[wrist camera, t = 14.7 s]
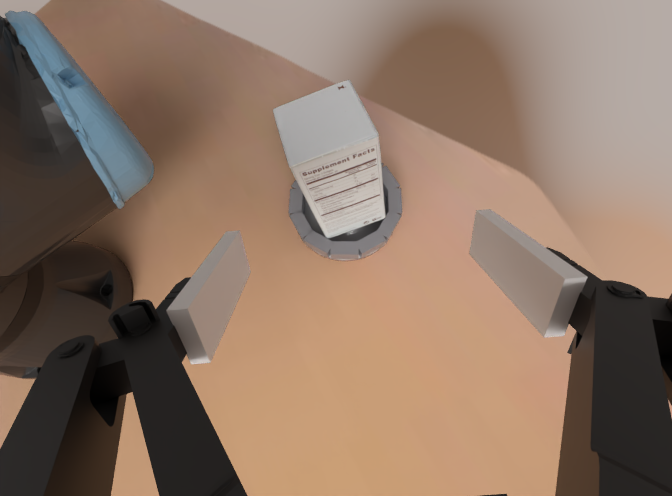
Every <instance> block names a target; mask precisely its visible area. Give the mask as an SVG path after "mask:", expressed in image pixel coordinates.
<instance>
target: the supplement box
mask: <svg viewBox="0 0 672 496" xmlns="http://www.w3.org/2000/svg"><path fill="white" fill-rule="evenodd" d="M273 113H274V117H275V121H276V124H277V128H278V131H279V135H280V138H281V142H282V145H283V148H284V152H285V155H286V159H287V162H288V165H289V167H290V169H291V171H292V173H293V175H294V177H295V179H296V181H297V183H298V185H299V187H300V188H301V190H302V192H303V194H304V196H305V198H306V200H307V202H308V204H309V206H310V208H311V210H312V212H313V214H314V216H315V218H316V220H317V222H318V224H319V225H320V227H321V229H322V231H323V233H324V235H325V237H326V238H327V239H328V238H332V237H335V236H338V235H340V234H343V233H346V232H349V231H351V230H354V229H357V228H360V227H362V226H365V225H368V224H371V223H374V222H376V221H379V220H381V219H384V218H385V217H386V216H385V205H384V192H383V179H382V165H381V152H380V142H379V134H378V132H377V130H376V128H375V126H374V124H373V122H372V121H371V119H370V117H369V115H368V113H367V111H366V109H365V107H364V105H363V103H362V101H361V100H360V98H359V96H358V94H357V93H356V91H355V89H354V87H353V85H352V83H351V81H350V80H346V81H343V82H340V83H337V84H334V85H332V86H329V87H327V88H324V89H322V90H319V91H317V92H314V93H312V94H309V95H307V96H304V97H301V98H299V99H296V100H294V101H291V102H289V103H286V104H284V105H281V106H279V107H277V108H275V109H273Z"/></svg>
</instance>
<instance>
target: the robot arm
mask: <svg viewBox="0 0 672 496" xmlns="http://www.w3.org/2000/svg"><path fill="white" fill-rule="evenodd" d="M5 16H6V18H2V17H1V16H0V374H2V375H7V376H12V377H17V378H23V379H36V380H35V382H34V384H33V385H32V387H31V389H30V391H29V393H28V395H27V397H26V399H25V401H24V403H23V405H22V407H21V409H20V411H19V413H18V415H17V417H16V419H15V421H14V423H13V425H12V427H11V429H10V431H9V433H8V435H7V437H6V439H5V441H4V443H3V445H2V447H1V449H0V496H111V490H112V484H113V477H114V471H115V465H116V458H117V452H118V446H119V439H120V433H121V427H122V420H123V414H124V407H125V401H126V395H127V393H130V392H133V395H134V399H135V403H136V407H137V411H138V415H139V419H140V422H141V426H142V430H143V434H144V438H145V442H146V446H147V450H148V453H149V457H150V461H151V465H152V469H153V473H154V477H155V480H156V484H157V488H158V492H159V496H247V494H246V492H245V490H244V488H243V486H242V484H241V482H240V480H239V478H238V476H237V474H236V472H235V470H234V468H233V466H232V464H231V462H230V460H229V458H228V456H227V454H226V452H225V450H224V448H223V446H222V444H221V441H220V439H219V437H218V435H217V433H216V431H215V429H214V427H213V425H212V423H211V421H210V419H209V417H208V415H207V413H206V411H205V409H204V407H203V405H202V403H201V401H200V399H199V397H198V395H197V393H196V391H195V389H194V387H193V385H192V383H191V381H190V379H189V377H188V375H187V373H186V371H185V369H184V366H183V364H182V361H183V359H184V357H185V356H186V354H187V356H188V358H189V360H190V363H191V364H202V363H210V362H211V360H212V358H213V356H214V353H215V351H216V349H217V347H218V345H219V342H220V340H221V338H222V336H223V333H224V331H225V329H226V327H227V324H228V322H229V320H230V318H231V315H232V313H233V311H234V309H235V306H236V304H237V302H238V300H239V297H240V295H241V293H242V291H243V288H244V286H245V284H246V282H247V279H248V277H249V275H250V273H251V270H250V267H249V263H248V259H247V255H246V252H245V248H244V244H243V240H242V237H241V233H240V230H239V231H227V232H226V233H225V234H224V235H223V237H222V238H221V239H220V241H219V242H218V243H217V244H216V246H215V247H214V248H213V250H212V251H211V252H210V254H209V255H208V256H207V258H206V259H205V260H204V262H203V263H202V264H201V265H200V267H199V268H198V269H197V271H196V272H195V273H194V275H193V276H192V277H190V278H185V279H183V280H182V281H180V282H179V283H178V284H176V285H175V287H174V288H173V289H172V290H171V291H170V293H169V294H168V295H167V296H166V298H165V300H163V301H162V302H161V304H160V305H159V306H158V307H157V309H156V310H155V308H154V306H153V304H152V302H151V301H149V300H136V301H133V302H132V284H131V279H130V276H129V273H128V271H127V269H126V267H125V265H124V264H123V263H122V261H121V260H120V259H119V258H118V257H117V256H115V255H114V254H113V253H111V252H109V251H107V250H105V249H102V248H99V247H96V246H93V245H90V244H87V243H83V242H76V241H71V240H72V239H74V238H75V237H76V236H78V235H79V234H81V233H82V232H83V231H85V230H86V229H88V228H89V227H90V226H92V225H93V224H95V223H96V222H97V221H99V220H100V219H102V218H103V217H105V216H106V215H107V214H109V213H110V212H112V211H113V210H114V209H116V208H118V209H121V208H123V207H124V205H125V202H126V201H127V200H128V199H130V198H131V197H132V196H133V195H135V194H136V193H137V192H138V191H140V190H141V189H142V188H144V187H145V186H146V185H147V184H148V183H149V182H150V181H151V180H152V178H153V174H154V166H153V162H152V160H151V158H150V157H149V155H148V154H147V152H146V151H145V149H144V148H143V146H142V145H141V144H140V142H139V141H138V140H137V138H136V137H135V136H134V134H133V133H132V132H131V131H130V129H129V128H128V127H127V125H126V124H125V123H124V122H123V120H122V119H121V118H120V116H119V115H118V114H117V113H116V111H115V110H114V109H113V108H112V106H111V105H110V104H109V103H108V101H107V100H106V99H105V98H104V96H103V95H102V94H101V92H100V91H99V90H98V89H97V87H96V86H95V85H94V84H93V82H92V81H91V80H90V79H89V77H88V76H87V75H86V74H85V72H84V71H83V70H82V69H81V68H80V66H79V65H78V64H77V63H76V61H75V60H74V59H73V58H72V56H71V55H70V54H69V53H68V52H67V50H66V49H65V48H64V47H63V46H62V45H61V43H60V42H59V41H58V40H57V39H56V38H55V37H54V35H53V34H52V33H51V32H50V31H49V30H48V28H47V27H46V26H45V25H44V23H43V22H42V21H41V20H40V19H39V18H38V17H37V16H36V15H34V14H32V13H30V12H27V11H22V12H14V11H9V12H8V13H6V14H5ZM469 254H470V255H471V257H472V258H473V259H474V260H475V261H476V262H477V263H478V264H479V266H480V267H481V268H482V269H483V270H484V271H485V272H486V273H487V274H488V276H489V277H490V278H491V279H492V280H493V281H494V282H495V283H496V284H497V286H498V287H499V288H500V289H501V290H502V291H503V292H504V293H505V295H506V296H507V297H508V298H509V299H510V300H511V301H512V302H513V303H514V305H515V306H516V307H517V308H518V309H519V310H520V311H521V312H522V314H523V315H524V316H525V317H526V318H527V319H528V320H529V321H530V322H531V324H532V325H533V326H534V327H535V328H536V329H537V330H538V331H539V333H540V334H541V335H542V336H543V337H557V336H564V334H565V332H566V329H567V327H568V324H570V325H571V326H572V327H573V328H574V329H575V330H576V334H575V336H574V338H573V341H572V343H571V345H570V348H569V350H568V352H567V353H569V354H571V353H572V356H571V364H570V373H569V382H568V390H567V399H566V408H565V416H564V425H563V434H562V442H561V451H560V460H559V468H558V477H557V486H556V494H555V496H672V418H671V413H670V408H669V403H668V400H669V401H670V403H671V405H672V294H671V296H670V298H669V299H664V298H655V297H647V295H646V294H645V293H644V292H643V291H641V290H640V289H638V288H636V287H634V286H632V285H629V284H625V283H622V282H617V281H602V280H601V279H599V278H598V277H596V276H595V275H593V274H592V273H590V272H589V271H587V270H586V269H584V268H583V267H581V266H580V265H578V264H577V263H575V262H574V261H572V260H570V259H569V258H568V257H566V256H565V255H563V254H562V253H560V252H558V251H555V250H553V249H550V248H548V247H547V248H545V247H544V246H542V245H541V244H540V243H538V242H537V241H535V240H534V239H532V238H531V237H529V236H528V235H527V234H525V233H524V232H522V231H521V230H519V229H518V228H517V227H515V226H514V225H512V224H511V223H509V222H508V221H506V220H505V219H504V218H502V217H501V216H499V215H498V214H496V213H495V212H493V211H492V210H491V209H487V210H476V215H475V221H474V227H473V233H472V240H471V246H470V252H469ZM482 496H507V494H497V495H482Z"/></svg>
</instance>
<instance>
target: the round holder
mask: <svg viewBox="0 0 672 496" xmlns="http://www.w3.org/2000/svg"><path fill="white" fill-rule="evenodd" d="M381 165H382V179H383V192H384V205H385V216H386V217H385V218H384V219H381V220H379V221H376V222H374V223H371V224H368V225H365V226H362V227H360V228H357V229H354V230H351V231H349V232H346V233H343V234H340V235H338V236H335V237H332V238H328V239H327V238H326V237H325V235H324V233H323V231H322V229H321V227H320V225H319V224H318V222H317V220H316V218H315V216H314V214H313V212H312V210H311V208H310V206H309V204H308V202H307V200H306V198H305V196H304V194H303V192H302V190H301V188H300V187H299V185H298V183H297V181H296V180H295V182H294V183H293V184H292V189H290V201H289V215H290V218H291V220H292V222H293V224H294V226H295V228H296V229H297V231H298V233H299V235H300V237H301V239H302V240H303V242H304V243H305V244H306V246H308V247H309V248H310V249H312V250H313V251H314V252H316V253H317V254H319V255H321V256H323V257H326V258H329V259H332V260H337V261H353V260H359V259H362V258H365V257H367V256H370V255H372V254H373V253H375V252H376V251H378V250H379V249H380V248H381V247H383V246H384V245H385V243H387V241H388V240H389V238H390V237H391V235H392V233H393V231H394V229H395V228H396V226H397V224H398V222H399V220H400V218H401V214H402V199H401V188H399V187H400V185H399V183H398V182H397V181H396V179H395V178H394V176H393V175H392V174H391V172H390V171H389V169H388V168H387V166H384V167H383V163H381Z"/></svg>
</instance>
